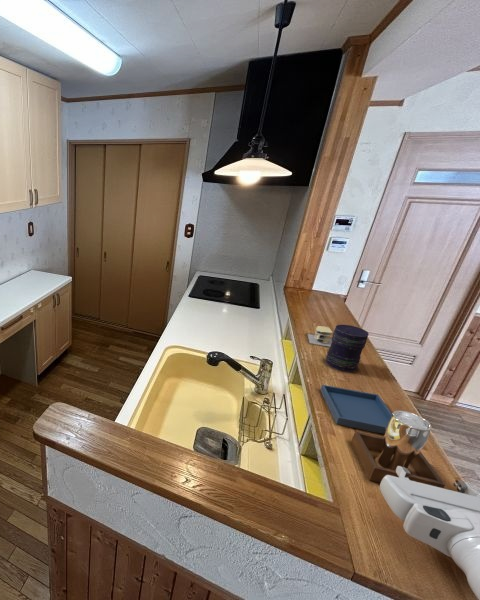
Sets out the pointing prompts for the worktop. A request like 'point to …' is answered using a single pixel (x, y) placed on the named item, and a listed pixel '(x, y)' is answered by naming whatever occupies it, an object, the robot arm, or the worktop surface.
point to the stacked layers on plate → (321, 336)
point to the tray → (357, 408)
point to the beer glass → (402, 440)
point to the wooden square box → (378, 473)
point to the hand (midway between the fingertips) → (429, 475)
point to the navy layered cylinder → (346, 348)
